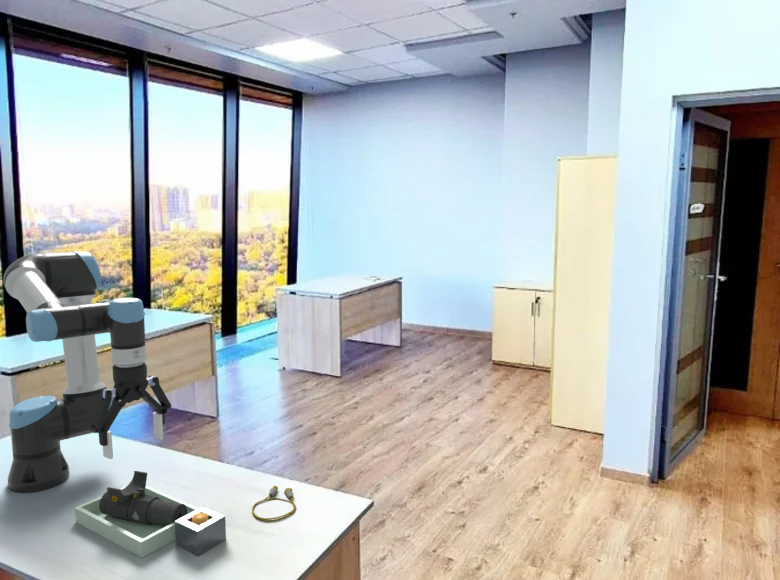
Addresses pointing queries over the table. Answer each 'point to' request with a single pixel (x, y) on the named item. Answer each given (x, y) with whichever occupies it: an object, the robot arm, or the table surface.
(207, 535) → the grey square holder
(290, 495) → the extension cord
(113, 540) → the tray
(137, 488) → the laser sight
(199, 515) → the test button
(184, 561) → the table surface
